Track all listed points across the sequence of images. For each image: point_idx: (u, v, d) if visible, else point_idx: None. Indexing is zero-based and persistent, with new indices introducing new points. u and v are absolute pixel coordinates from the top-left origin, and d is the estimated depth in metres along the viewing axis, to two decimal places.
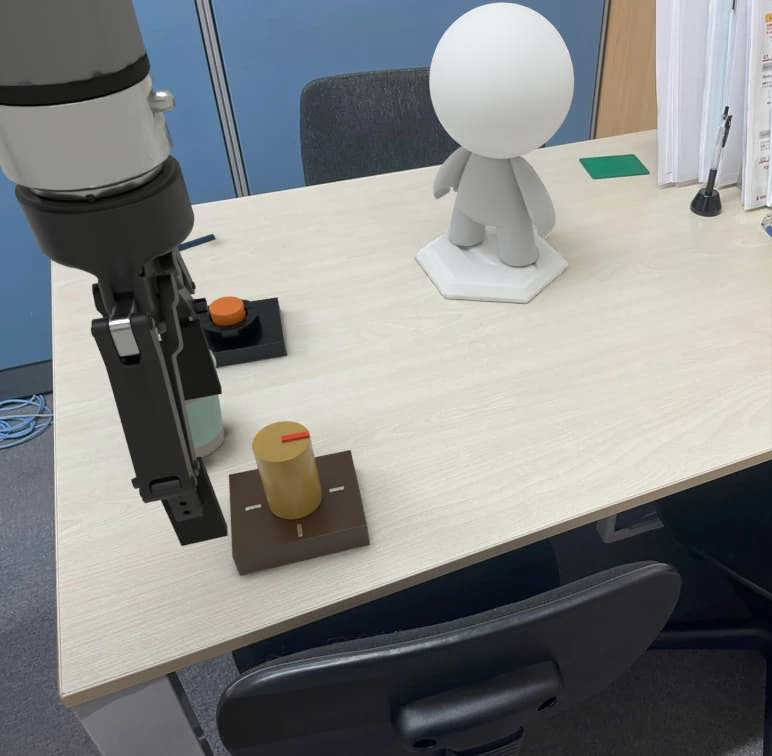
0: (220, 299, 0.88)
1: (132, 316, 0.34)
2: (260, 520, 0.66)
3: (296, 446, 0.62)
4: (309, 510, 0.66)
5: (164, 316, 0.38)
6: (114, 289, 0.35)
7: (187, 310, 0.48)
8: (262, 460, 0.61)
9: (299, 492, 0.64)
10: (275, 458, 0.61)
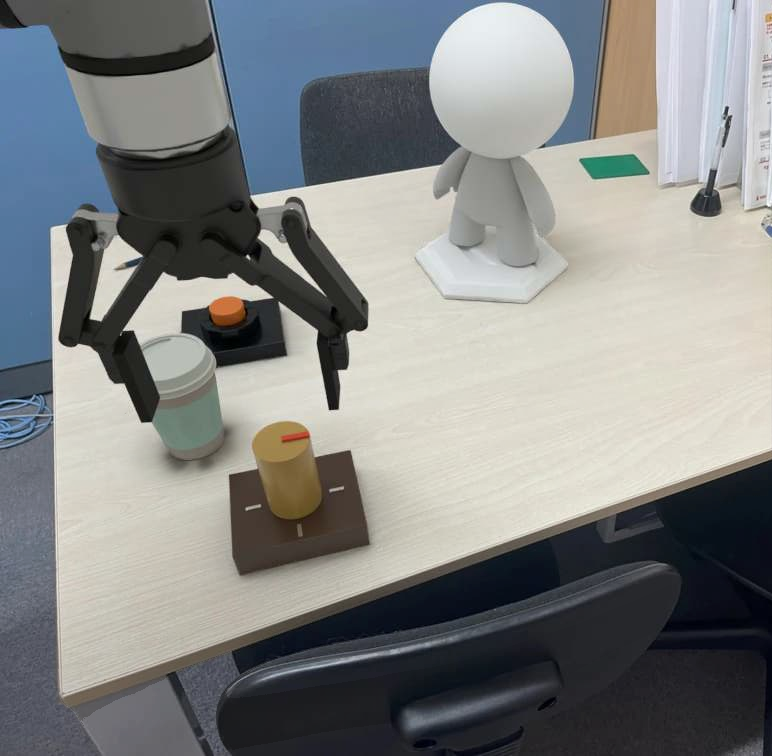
0: (220, 299, 0.88)
1: (293, 201, 0.45)
2: (260, 520, 0.66)
3: (296, 446, 0.62)
4: (309, 510, 0.66)
5: None
6: (249, 209, 0.44)
7: None
8: (262, 460, 0.61)
9: (299, 492, 0.64)
10: (275, 458, 0.61)
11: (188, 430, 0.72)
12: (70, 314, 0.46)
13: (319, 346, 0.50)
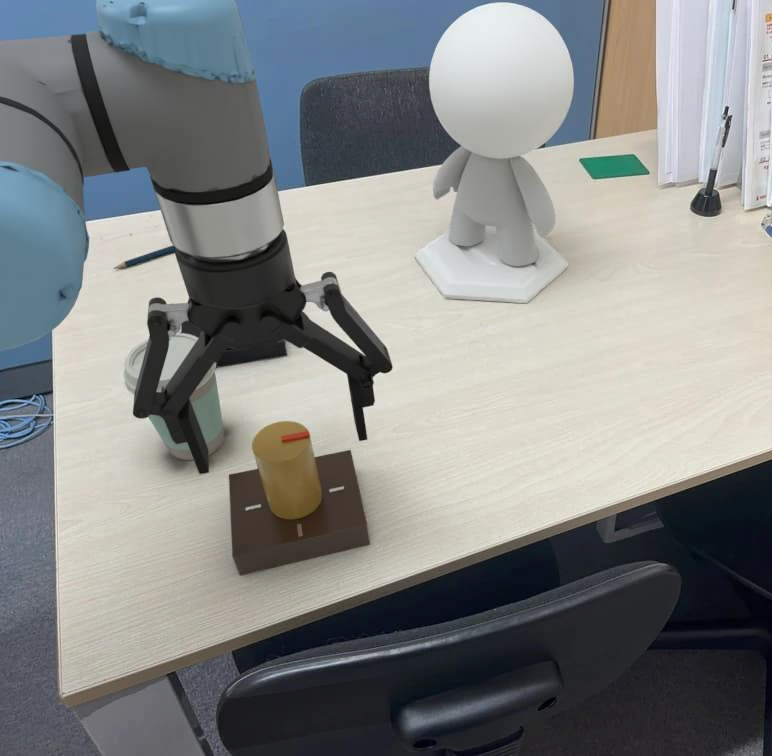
0: None
1: (329, 276, 0.54)
2: (260, 520, 0.66)
3: (296, 446, 0.62)
4: (309, 510, 0.66)
5: None
6: (296, 287, 0.53)
7: None
8: (262, 460, 0.61)
9: (299, 492, 0.64)
10: (275, 458, 0.61)
11: None
12: (145, 391, 0.54)
13: (353, 389, 0.60)
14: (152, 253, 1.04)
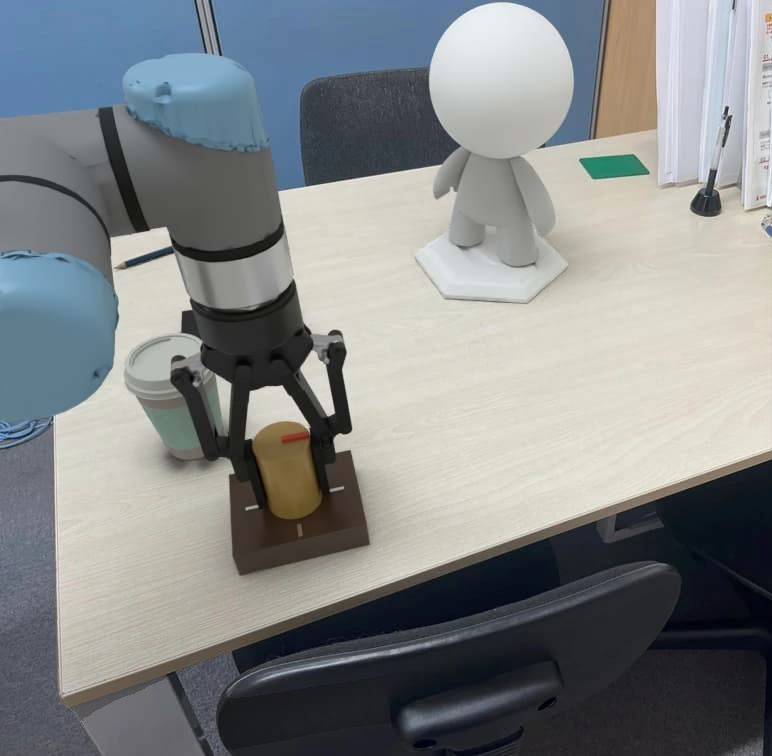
0: None
1: (339, 334, 0.58)
2: (260, 520, 0.66)
3: (296, 446, 0.62)
4: (309, 510, 0.66)
5: None
6: (304, 332, 0.56)
7: None
8: (262, 460, 0.61)
9: (299, 492, 0.64)
10: (276, 458, 0.61)
11: (188, 430, 0.72)
12: (204, 438, 0.58)
13: (314, 450, 0.63)
14: (152, 253, 1.04)
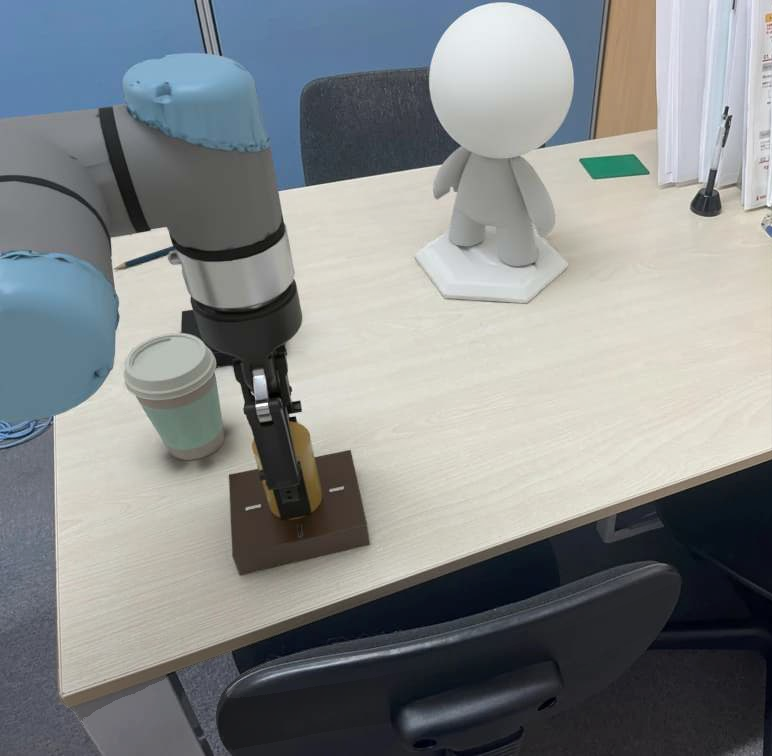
0: None
1: None
2: (260, 520, 0.66)
3: (292, 429, 0.64)
4: None
5: None
6: None
7: None
8: (303, 452, 0.62)
9: None
10: (305, 441, 0.63)
11: (188, 430, 0.72)
12: (293, 460, 0.57)
13: (296, 422, 0.65)
14: (152, 254, 1.04)
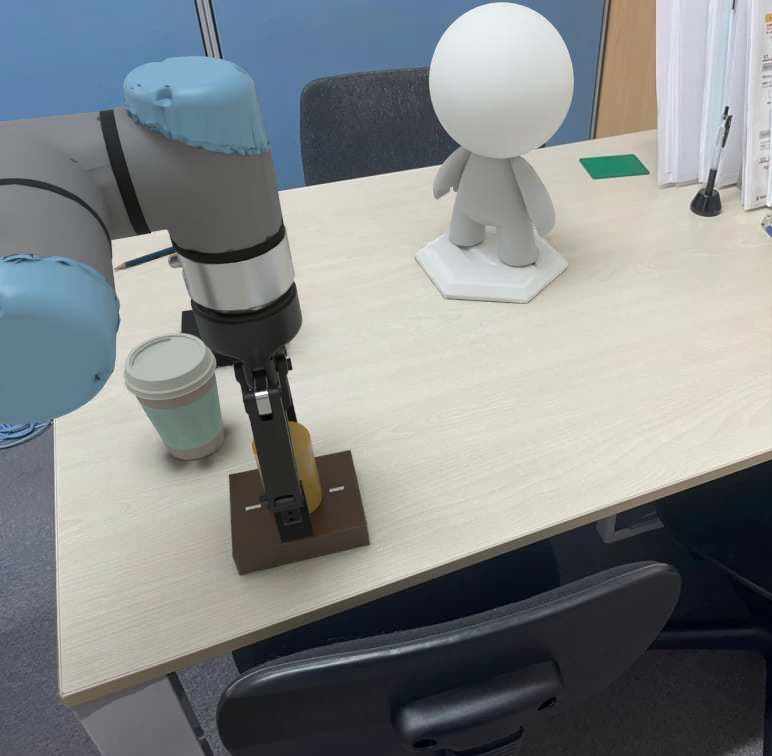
0: None
1: None
2: (260, 520, 0.66)
3: (292, 428, 0.64)
4: None
5: None
6: None
7: None
8: (304, 451, 0.62)
9: None
10: (306, 440, 0.63)
11: (188, 430, 0.72)
12: (296, 472, 0.54)
13: (287, 380, 0.67)
14: (152, 254, 1.04)
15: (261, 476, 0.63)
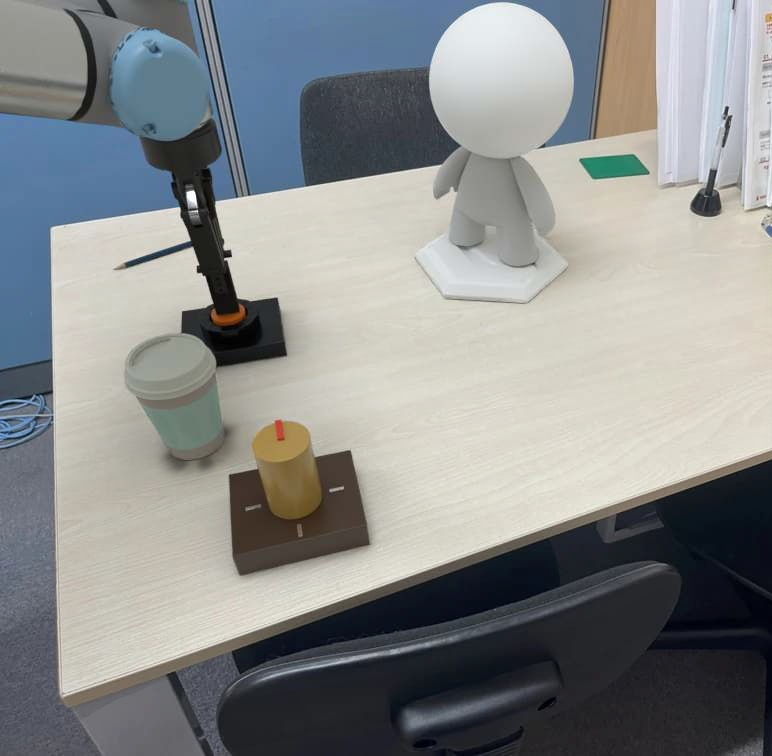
0: None
1: None
2: (260, 520, 0.66)
3: (292, 428, 0.64)
4: None
5: None
6: None
7: None
8: (304, 451, 0.62)
9: None
10: (306, 440, 0.63)
11: (188, 430, 0.72)
12: (220, 254, 0.79)
13: (227, 264, 0.84)
14: (152, 254, 1.04)
15: (261, 476, 0.63)
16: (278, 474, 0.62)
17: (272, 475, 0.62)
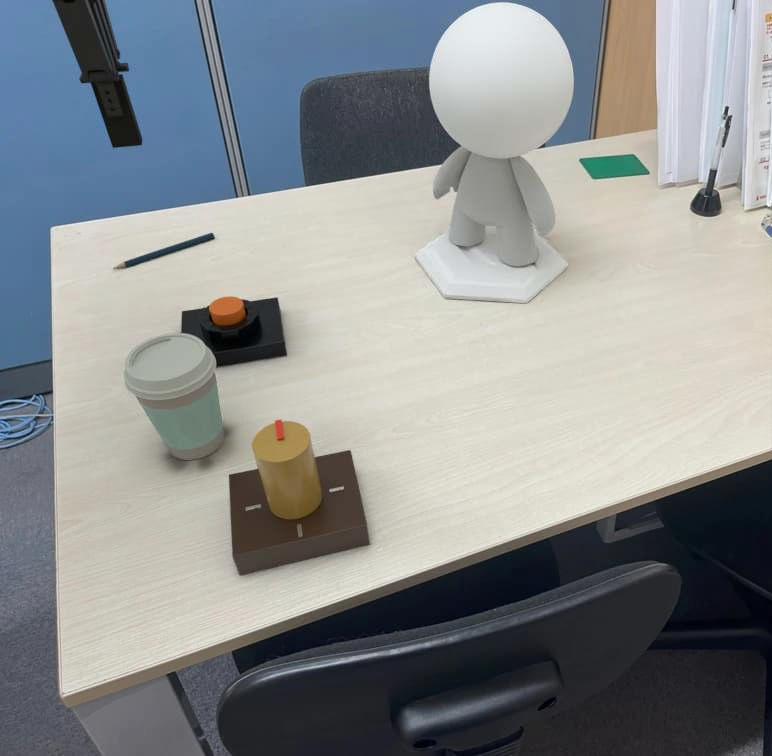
0: (220, 299, 0.88)
1: None
2: (260, 520, 0.66)
3: (292, 428, 0.64)
4: None
5: None
6: None
7: None
8: (304, 451, 0.62)
9: None
10: (306, 440, 0.63)
11: (188, 430, 0.72)
12: (104, 50, 0.63)
13: (122, 79, 0.69)
14: (152, 253, 1.04)
15: (261, 476, 0.63)
16: (278, 474, 0.62)
17: (272, 475, 0.62)
